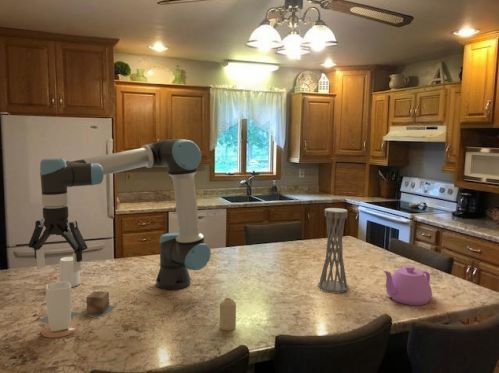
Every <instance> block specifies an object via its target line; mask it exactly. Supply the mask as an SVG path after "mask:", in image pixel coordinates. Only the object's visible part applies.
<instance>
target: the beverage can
mask: <svg viewBox="0 0 499 373" xmlns="http://www.w3.org/2000/svg"><path fill="white" fill-rule="evenodd" d="M58 265H59V282H63V281H67V282H69V283H70V285H71V288H75V287H77V286H78V285H80V284H81V270H79V271H78V272H74V268H73V255H72V256H70V255H69V256H64V257H61V258H60V260H59V262H58Z"/></svg>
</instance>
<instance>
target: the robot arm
mask: <svg viewBox="0 0 499 373" xmlns="http://www.w3.org/2000/svg"><path fill="white" fill-rule="evenodd" d="M201 161H202V152H201V149H200V147H199V146H198V144H196V143H195V141H192V140H189V139H184V138H183V139H182V138H180V139H178V138H175V139H173V138H172V139H171V138H169V139H167V138H166V139H164V140H163V139H162V140H160V141H156V142H151V143H147V144H143V145H142V146H141V148H134V149H129V150H125V151H119V152H114V153H109V154H108V153H107V154H103V155H97V156H93V157H87V158H82V159H76V160H71V161H70V160H66V159H65V158H44V159H41V161H40V162H39V165H40V166H39V175H40V188H41V205H42V206H43V208H42V219H38V220H36V221H35V224H34V225H35V226H34V227H35V228H34V230H33V231H32V232H33V233H32V235H31V237H30V241H29V243H28V245H27V246H28V248H29V249H30V248H31V249H32V250H34V258H35V259H36V270H41V269H44V268H45V267H46V263H45V249H44V247H43V245H44V244H45V243H46V242H47V240H48V239H49V237H50V236H53V235H56V236H61V237H62V238H64V240H65V241H66V242H67V243H68V244H69V246H70V248H72V250H73V251H74V252H72V256H73V268H74V272H78V271H79V270H80V271H81V269H82V266H81V261H82V260H83V251H85V250H87V249H88V245H87V243H86V241H85V239H84V237H83V235H82V234H81V231H80V229H79V225H78V222H77V221H76V220H73V221H69V207H68V203H69V202H68V188H72V187H82V186H83V187H85V186H96V185H101V184H102V182H103V180H104V178H105V176H107V175H112V174H116V173H120V172H125V171H129V170H134V169H138V168H143V167H146V168H148V169H151V168H155V167H158V168H159V167H160V168H167V174H168V176H169V177H171V178H172V184H173V192H174V193H173V194H174V202H175V210H176V221H177V229H178V232H167V233H163V234H162V235H160V237H159V270H158V274H157V276H156V280H155V285H156V287H157V288H159V289H163V290H169V291H170V290H181V289H184V288H187V287H189V286H190V285H191V276H190V273H189V270H190V271H191V270H192V271H200V270H202V269H203V268H205V267H206V266H207V264H208V263H209V262H210V259H211V255H212V253H211V252H212V251H211V248H210V246H208V244H206V243H205V236H204V233H201V231H200V222H199V213H198V204H197V203H198V202H197V194H196V193H197V192H196V183H195V175H196V174H197V173H198V167H199V165H200V163H201ZM44 228H45V229H44Z"/></svg>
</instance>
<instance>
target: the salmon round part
mask: <svg viewBox="0 0 499 373" xmlns="http://www.w3.org/2000/svg"><path fill="white" fill-rule="evenodd" d="M77 330H78V324H77V323H76V322H75V321H70V327H69V328H68V329H67V330H62V331H58V332H53V331H51V330H50V326H49V324H48V325H46V326H44V327H43V328H42V329H41V330H40V332H41V336H43V337H44V338H49V339H55V338H58V339H59V338H63V337H66V336H70V335H72V334H73V333H75V332H77Z"/></svg>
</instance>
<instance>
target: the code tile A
mask: <svg viewBox="0 0 499 373" xmlns="http://www.w3.org/2000/svg"><path fill="white" fill-rule="evenodd" d="M79 313H80V312H78V311H77V312H76V311H75V312H74V311H71V319H73V318H74V317H76V316H78V315H80V314H79ZM37 322H41V323H48V324H49V321H48V314H46V315H45V316H44V317H42V318H40V319H39V320H37Z"/></svg>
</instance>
